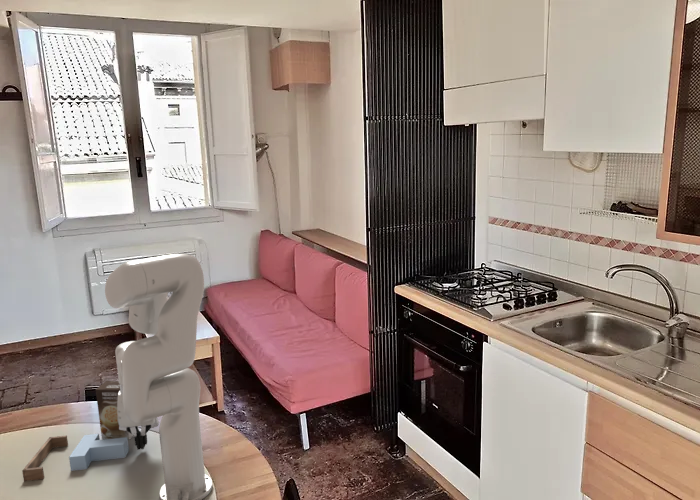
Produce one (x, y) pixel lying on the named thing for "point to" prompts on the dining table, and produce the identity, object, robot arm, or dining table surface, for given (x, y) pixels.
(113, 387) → the coffee box
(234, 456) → the dining table surface
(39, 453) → the wooden u-shaped bracket
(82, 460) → the t block
